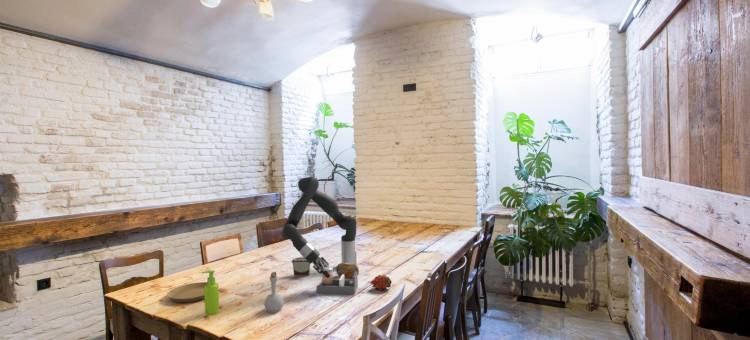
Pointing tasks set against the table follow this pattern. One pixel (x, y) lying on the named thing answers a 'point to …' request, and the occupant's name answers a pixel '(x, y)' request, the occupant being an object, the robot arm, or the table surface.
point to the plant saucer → (188, 292)
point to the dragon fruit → (381, 282)
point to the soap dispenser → (211, 294)
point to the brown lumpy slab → (347, 270)
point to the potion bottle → (273, 297)
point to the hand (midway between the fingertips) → (330, 274)
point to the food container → (301, 267)
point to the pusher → (341, 281)
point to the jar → (330, 279)
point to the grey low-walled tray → (339, 287)
